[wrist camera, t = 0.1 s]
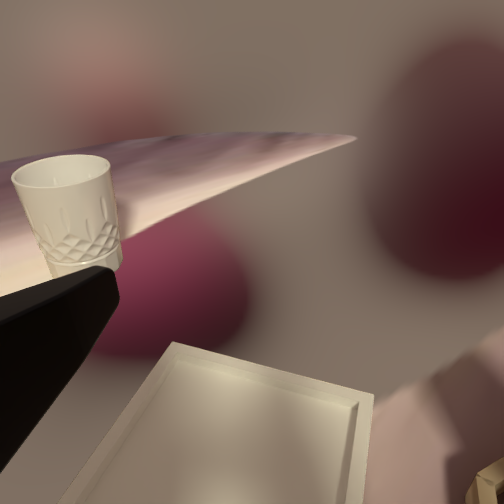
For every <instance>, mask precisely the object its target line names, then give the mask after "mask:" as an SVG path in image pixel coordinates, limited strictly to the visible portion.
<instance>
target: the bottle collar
mask: <svg viewBox="0 0 504 504" xmlns="http://www.w3.org/2000/svg"><path fill="white" fill-rule="evenodd" d="M502 492H504V456H503V457H502V458H500V459H499V460H497V461H495V462H494V463H492V464H491V465H489V466H488V467H486V468H484V469H483V470H481V471H480V472H478V473H477V474H476V476H475V478H474V480H473V482H472V484H471V486H470V487H469V489H468V491H467V493H466V495H465V503H466V504H497V498H496V497H497V496H498V495H500V494H501V493H502Z"/></svg>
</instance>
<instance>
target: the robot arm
mask: <svg viewBox="0 0 504 504" xmlns="http://www.w3.org/2000/svg"><path fill="white" fill-rule="evenodd" d="M119 300H120V296H119V291H118V286H117V282H116V277H115V274H114V271H113V270H112V269H110V268H108V267H103V266H98V265H95V266H91V267H88V268H85V269H82V270H79V271H76V272H73V273H70V274H67V275H64V276H61V277H58V278H55V279H52V280H49V281H46V282H44V283H41V284H38V285H35V286H32V287H29V288H26V289H23V290H20V291H17V292H14V293H11V294H8V295H5V296H2V297H0V473H1V472H2V471H3V469H4V468H5V467H6V465H7V464H8V463H9V461H10V460H11V458H12V457H13V456H14V455H15V453H16V452H17V451H18V449H19V448H20V447H21V445H22V444H23V443H24V441H25V440H26V439H27V437H28V436H29V434H30V433H31V432H32V430H33V429H34V428H35V426H36V425H37V424H38V422H39V421H40V420H41V418H42V417H43V416H44V414H45V413H46V412H47V410H48V409H49V408H50V406H51V405H52V404H53V402H54V401H55V400H56V398H57V397H58V396H59V394H60V393H61V391H62V390H63V389H64V388H65V386H66V385H67V384H68V382H69V381H70V379H71V378H72V377H73V376H74V374H75V373H76V372H77V370H78V369H79V367H80V366H81V364H82V363H83V362H84V360H85V359H86V357H87V356H88V354H89V353H90V351H91V349H92V348H93V346H94V345H95V343H96V341H97V340H98V338H99V336H100V335H101V333H102V331H103V330H104V328H105V326H106V324H107V323H108V321H109V320H110V318H111V317H112V315H113V313H114V312H115V310H116V308H117V306H118V304H119Z"/></svg>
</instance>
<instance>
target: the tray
mask: <svg viewBox="0 0 504 504" xmlns="http://www.w3.org/2000/svg"><path fill="white" fill-rule="evenodd" d="M373 401H374V394H369V393H366V392H362V391H358V390H355V389H350V388H347V387H343V386H339V385H336V384H332V383H328V382H324V381H321V380H317V379H313V378H309V377H305V376H302V375H297V374H294V373H290V372H286V371H283V370H279V369H275V368H271V367H267V366H264V365H260V364H256V363H252V362H248V361H245V360H241V359H237V358H233V357H229V356H226V355H221V354H218V353H214V352H210V351H207V350H203V349H199V348H195V347H191V346H188V345H184V344H180V343H176V342H172V343H171V344H170V346H169V347H168V348H167V350H166V351H165V353H164V354H163V355H162V357H161V358H160V360H159V361H158V362H157V364H156V365H155V367H154V368H153V369H152V371H151V372H150V373H149V375H148V376H147V378H146V379H145V380H144V382H143V383H142V385H141V386H140V388H139V389H138V390H137V392H136V393H135V395H134V396H133V397H132V399H131V400H130V402H129V403H128V404H127V406H126V407H125V409H124V410H123V411H122V413H121V414H120V416H119V417H118V418H117V420H116V421H115V423H114V424H113V425H112V427H111V428H110V430H109V431H108V432H107V434H106V435H105V437H104V438H103V439H102V441H101V442H100V444H99V445H98V447H97V448H96V449H95V451H94V452H93V453H92V455H91V457H90V458H89V459H88V460H87V462H86V463H85V465H84V466H83V467H82V469H81V470H80V472H79V473H78V474H77V476H76V477H75V479H74V480H73V481H72V483H71V484H70V486H69V487H68V488H67V490H66V492H65V493H64V494H63V496H62V497H61V498H60V500H59V501H58V503H57V504H363V495H364V486H365V476H366V467H367V457H368V448H369V438H370V429H371V420H372V410H373Z"/></svg>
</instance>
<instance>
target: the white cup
mask: <svg viewBox="0 0 504 504" xmlns="http://www.w3.org/2000/svg"><path fill="white" fill-rule="evenodd" d="M11 180H12V182H13V185H14V187H15V189H16V192H17V194H18V197H19V199H20V202H21V204H22V207H23V209H24V212H25V214H26V217H27V220H28V222H29V225H30V227H31V230H32V232H33V234H34V236H35V239H36V241H37V244H38V246H39V248H40V250H41V251H42V253H43V254H44V257H45V259H46V262H47V265H48V267H49V270H50V273H51V275H52V277H53V278H58V277H61V276H64V275H67V274H70V273H73V272H76V271H79V270H82V269H85V268H88V267H91V266H95V265H98V266H103V267H108V268H110V269H112V270H113V271H114V272H115V271H116V270H117V269H119V267H120V264H121V263H122V261H123V255H122V249H121V243H120V238H119V237H120V229H119V222H118V213H117V205H116V199H115V193H114V186H113V180H112V173H111V167H110V163H109V161H107V160H106V159H104V158H102V157H98V156H93V155H64V156H56V157H51V158H46V159H42V160H38V161H35V162H32V163H29V164H27V165H24V166H22V167H21V168H19V169H17V170H16V171H15V172H14V173H13V174H12V176H11Z"/></svg>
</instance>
